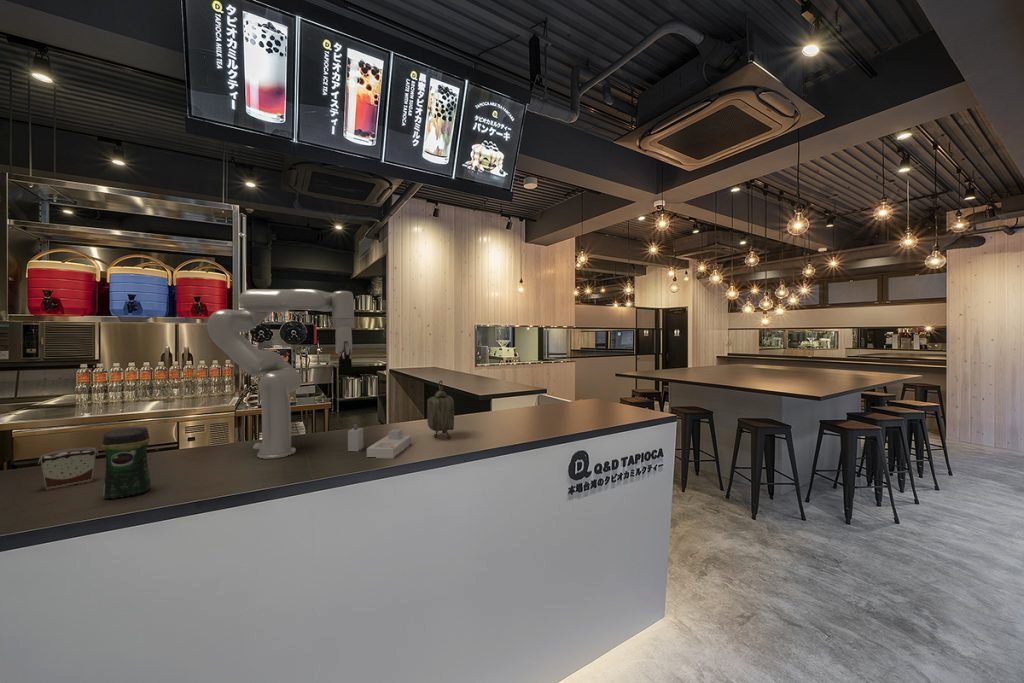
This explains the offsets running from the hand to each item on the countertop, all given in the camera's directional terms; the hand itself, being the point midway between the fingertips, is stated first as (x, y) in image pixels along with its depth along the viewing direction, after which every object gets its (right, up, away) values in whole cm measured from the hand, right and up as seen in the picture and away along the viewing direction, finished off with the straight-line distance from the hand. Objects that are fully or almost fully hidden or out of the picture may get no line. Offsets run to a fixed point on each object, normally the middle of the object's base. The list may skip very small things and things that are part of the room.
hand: (345, 369), depth 155 cm
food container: (-71, -33, -31) cm, 84 cm away
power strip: (+16, -32, +4) cm, 36 cm away
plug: (+2, -32, +5) cm, 33 cm away
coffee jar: (-46, -33, -39) cm, 68 cm away
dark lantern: (+32, -32, +25) cm, 51 cm away
